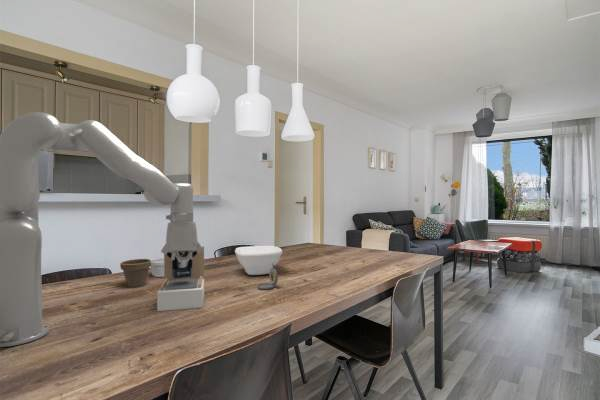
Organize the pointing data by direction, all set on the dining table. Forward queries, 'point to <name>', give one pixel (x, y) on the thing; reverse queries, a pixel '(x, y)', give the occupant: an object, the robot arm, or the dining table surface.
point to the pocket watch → (273, 278)
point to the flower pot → (136, 271)
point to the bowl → (258, 258)
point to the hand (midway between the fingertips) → (182, 269)
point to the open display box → (182, 286)
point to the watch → (182, 265)
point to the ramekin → (157, 267)
